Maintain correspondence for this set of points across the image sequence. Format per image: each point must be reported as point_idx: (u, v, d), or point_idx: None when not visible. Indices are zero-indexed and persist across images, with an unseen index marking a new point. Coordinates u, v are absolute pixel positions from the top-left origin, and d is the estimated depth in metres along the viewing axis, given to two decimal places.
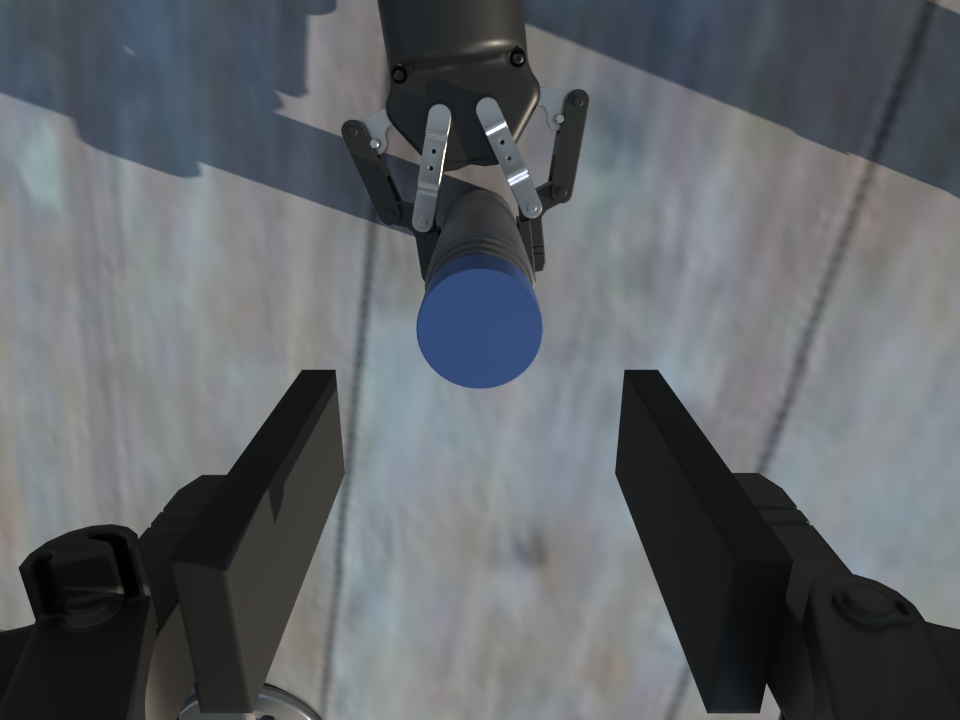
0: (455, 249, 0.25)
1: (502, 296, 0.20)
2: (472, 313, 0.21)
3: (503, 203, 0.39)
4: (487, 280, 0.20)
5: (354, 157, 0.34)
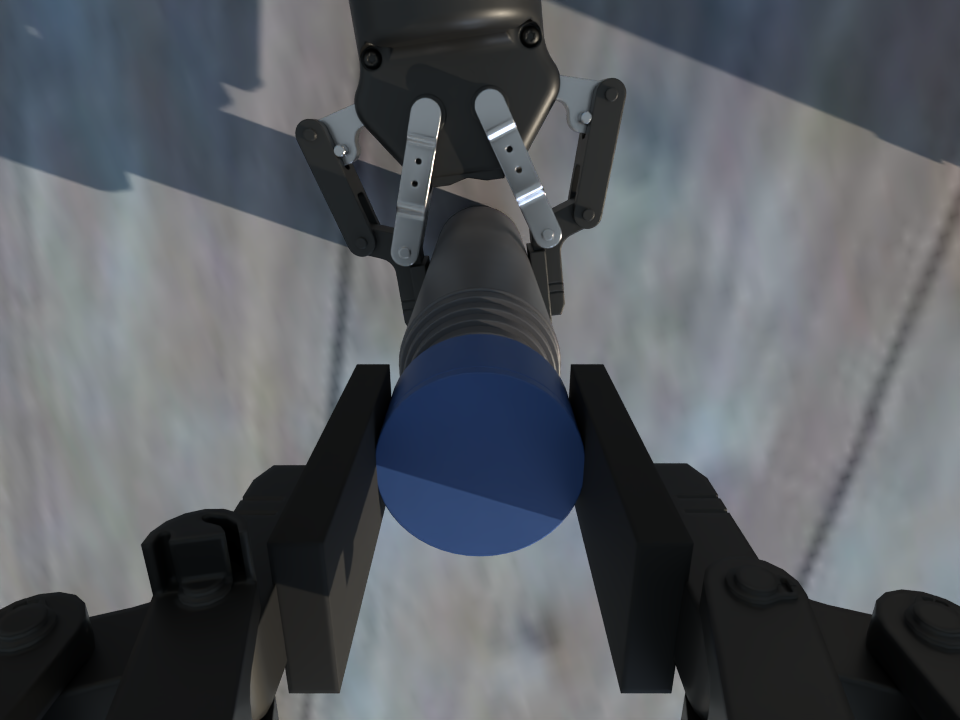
0: (443, 314, 0.16)
1: (518, 417, 0.12)
2: (466, 442, 0.12)
3: (509, 226, 0.30)
4: (492, 391, 0.12)
5: (313, 168, 0.26)
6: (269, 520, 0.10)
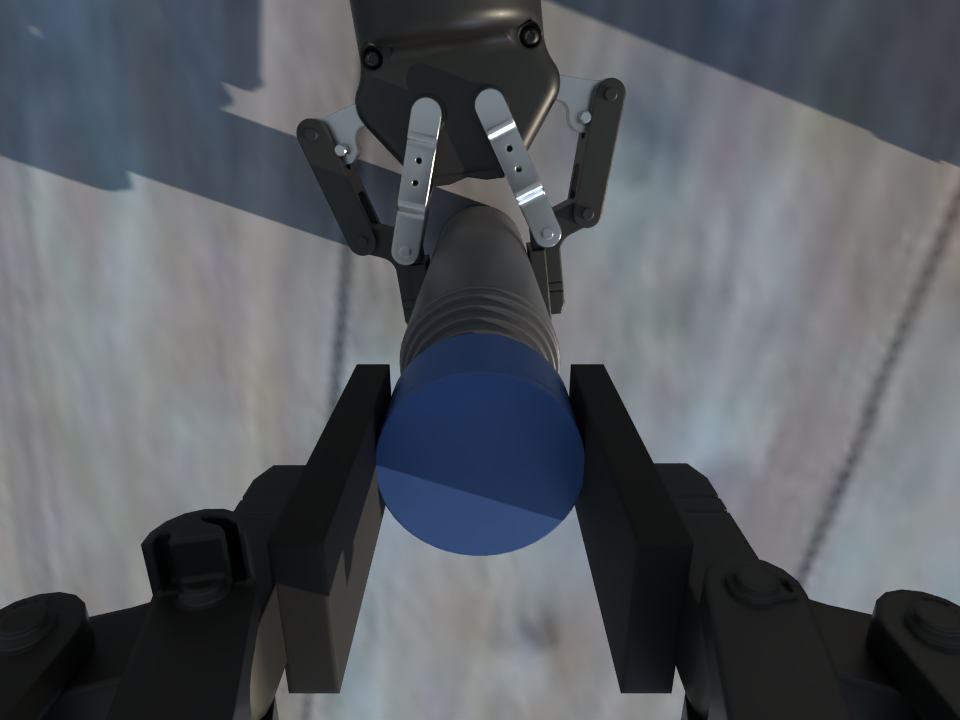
0: (443, 312, 0.16)
1: (410, 471, 0.13)
2: (461, 493, 0.13)
3: (509, 225, 0.30)
4: (403, 501, 0.13)
5: (314, 168, 0.26)
6: (269, 520, 0.10)
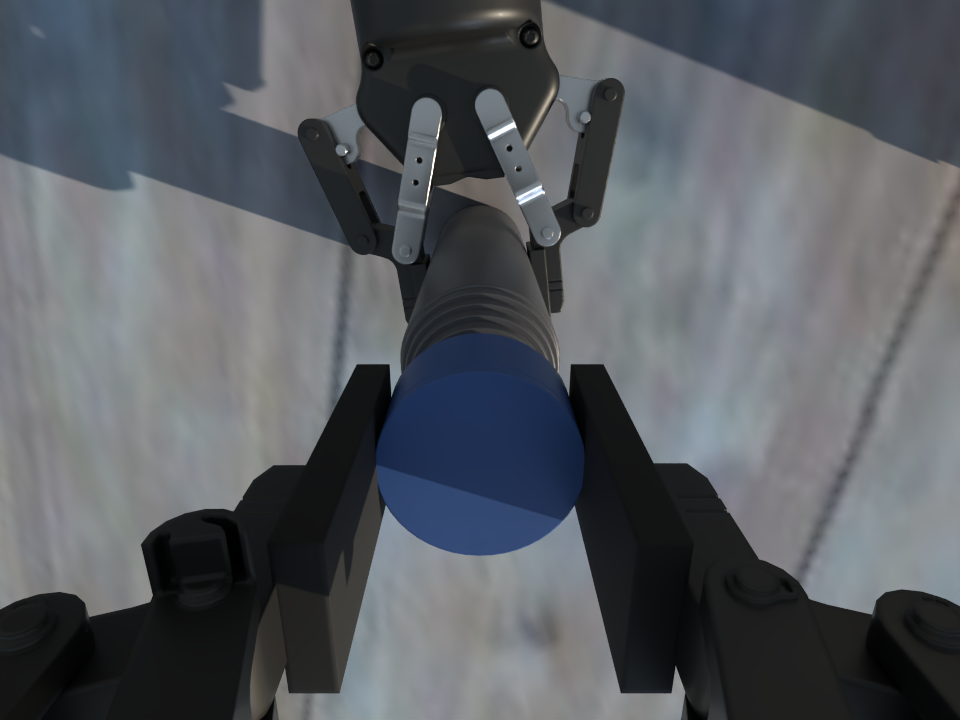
0: (443, 310, 0.17)
1: (518, 517, 0.13)
2: (514, 470, 0.13)
3: (509, 224, 0.31)
4: (552, 508, 0.13)
5: (315, 167, 0.26)
6: (269, 520, 0.10)
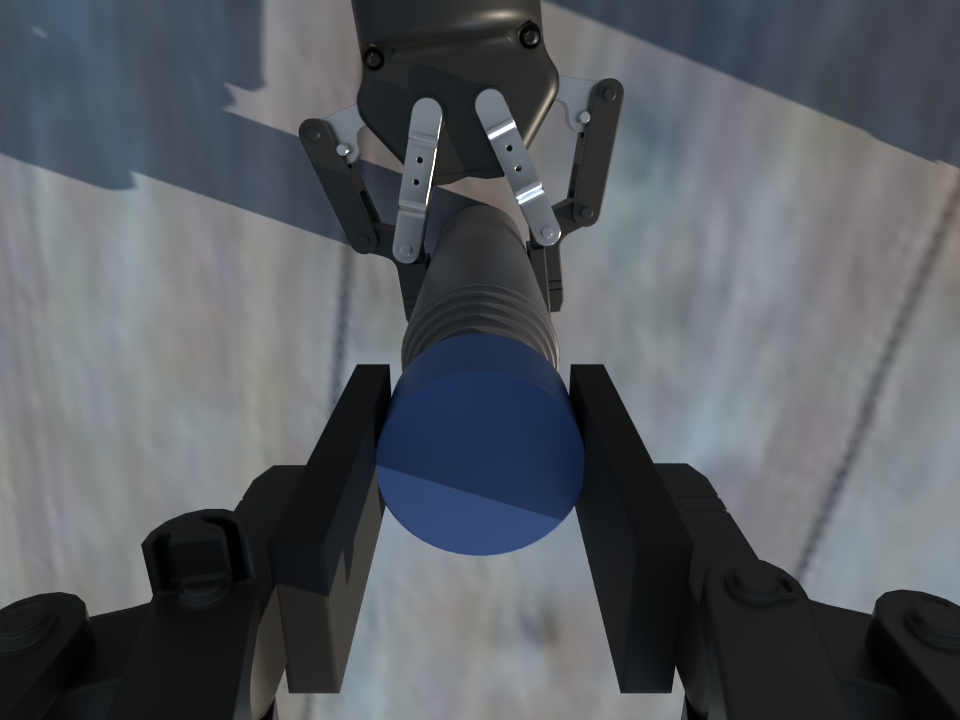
0: (444, 309, 0.17)
1: (507, 411, 0.12)
2: (462, 444, 0.12)
3: (509, 224, 0.31)
4: (477, 390, 0.12)
5: (316, 167, 0.26)
6: (269, 520, 0.10)
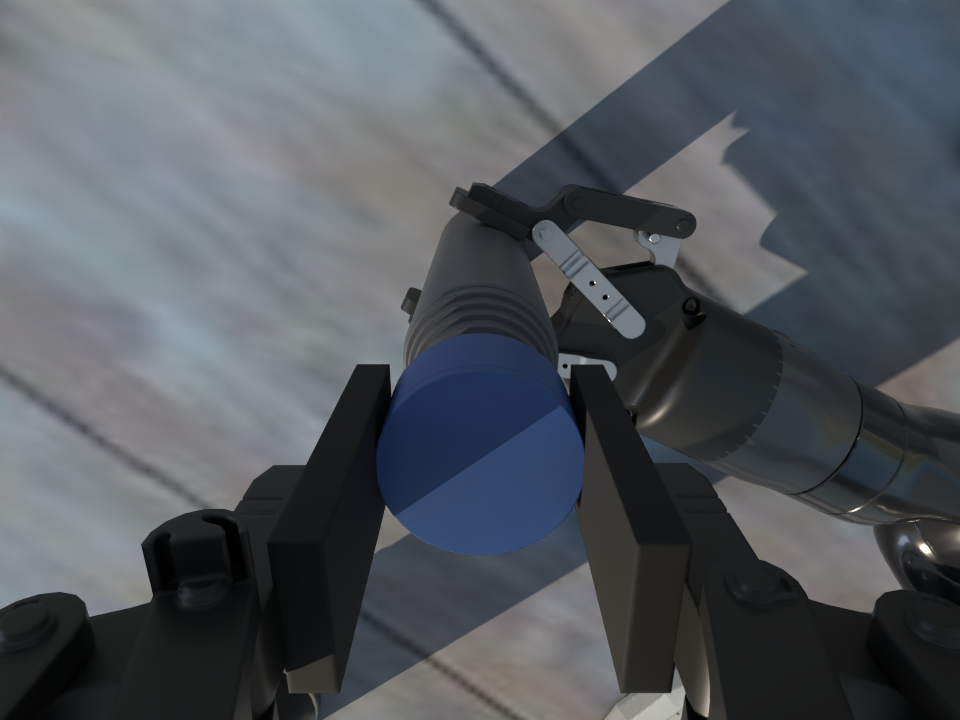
0: None
1: (507, 411, 0.12)
2: (462, 444, 0.12)
3: None
4: (477, 390, 0.12)
5: (659, 208, 0.27)
6: (269, 520, 0.10)
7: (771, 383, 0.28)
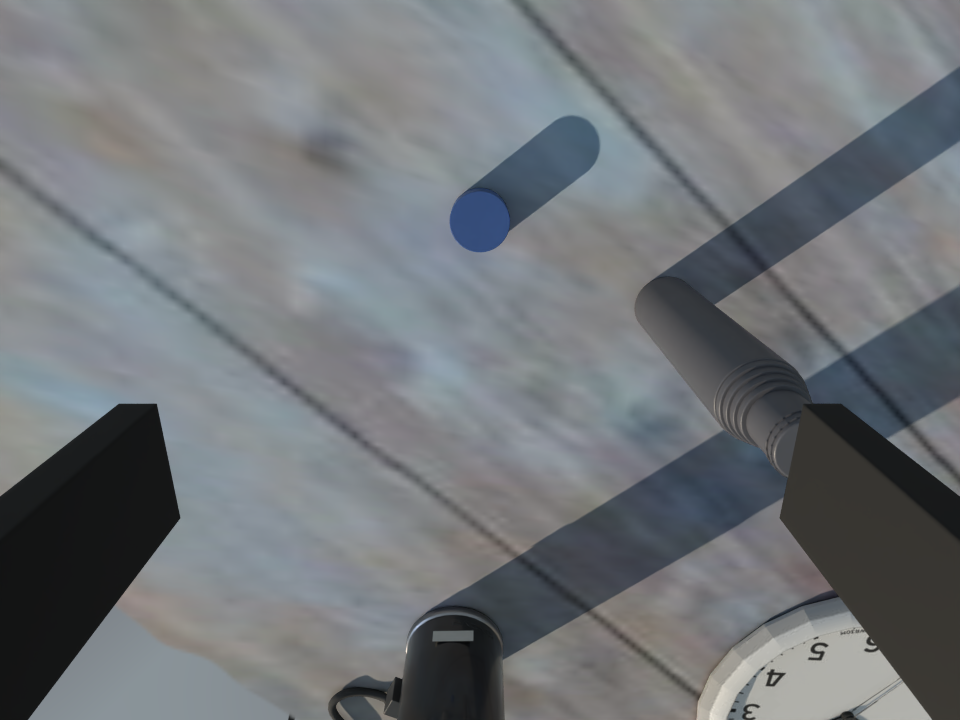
0: None
1: (487, 203, 0.44)
2: (474, 214, 0.44)
3: None
4: (479, 196, 0.43)
5: None
6: None
7: None
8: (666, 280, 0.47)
